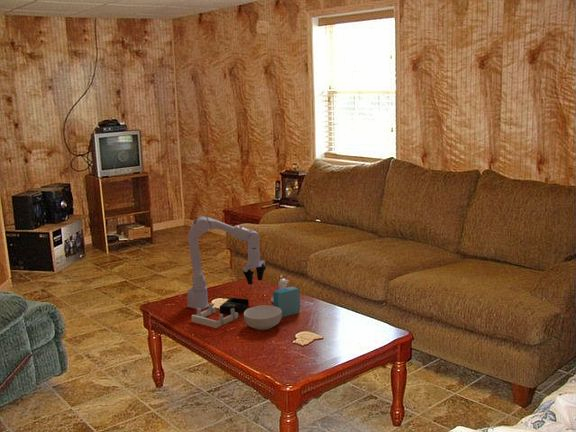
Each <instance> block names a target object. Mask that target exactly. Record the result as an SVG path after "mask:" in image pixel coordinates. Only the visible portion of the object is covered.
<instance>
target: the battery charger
mask: <svg viewBox="0 0 576 432" xmlns="http://www.w3.org/2000/svg"><path fill="white" fill-rule="evenodd" d="M249 305H250V300H249V299H248V298H239V297H230V298H228V299H227V300H226V301H224V302H223V303H222V304H220V306H219V314H223V315H228V314H230V315H231V308H234V309H235V312H238V316H239V315H241V313H244V312H245V311H246V310H247V309H248V308H249Z"/></svg>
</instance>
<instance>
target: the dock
mask: <svg viewBox="0 0 576 432" xmlns="http://www.w3.org/2000/svg"><path fill="white" fill-rule="evenodd" d="M208 304H209V307H208V309H206V310H203V311H202V310H201V308H197V309H196V314H192V315H191V322H192V323H195V324H200V325H203V326H206V327H211V328H214V329H218V328H219V327H222V326H224V325H226V324H227V323H230V322H232V321H235V320H236V319H238V318H239V315H238V312H235V309H234V308H231V315H226V316H225V317H224V314H220V313H218V320H215V319H211V318H208V316H211V315H213V314H215V313H217V307H216V306H213V302H208Z"/></svg>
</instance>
